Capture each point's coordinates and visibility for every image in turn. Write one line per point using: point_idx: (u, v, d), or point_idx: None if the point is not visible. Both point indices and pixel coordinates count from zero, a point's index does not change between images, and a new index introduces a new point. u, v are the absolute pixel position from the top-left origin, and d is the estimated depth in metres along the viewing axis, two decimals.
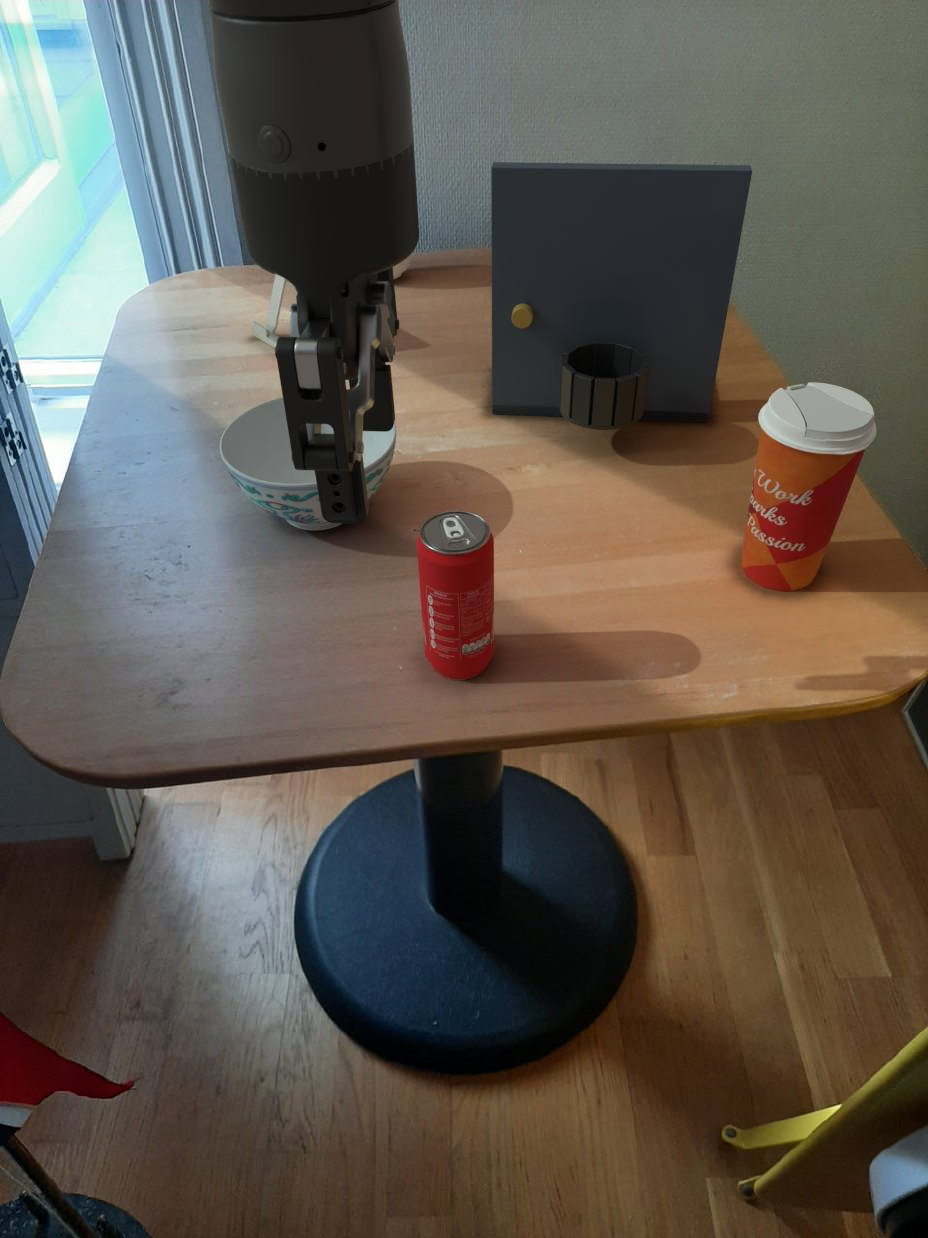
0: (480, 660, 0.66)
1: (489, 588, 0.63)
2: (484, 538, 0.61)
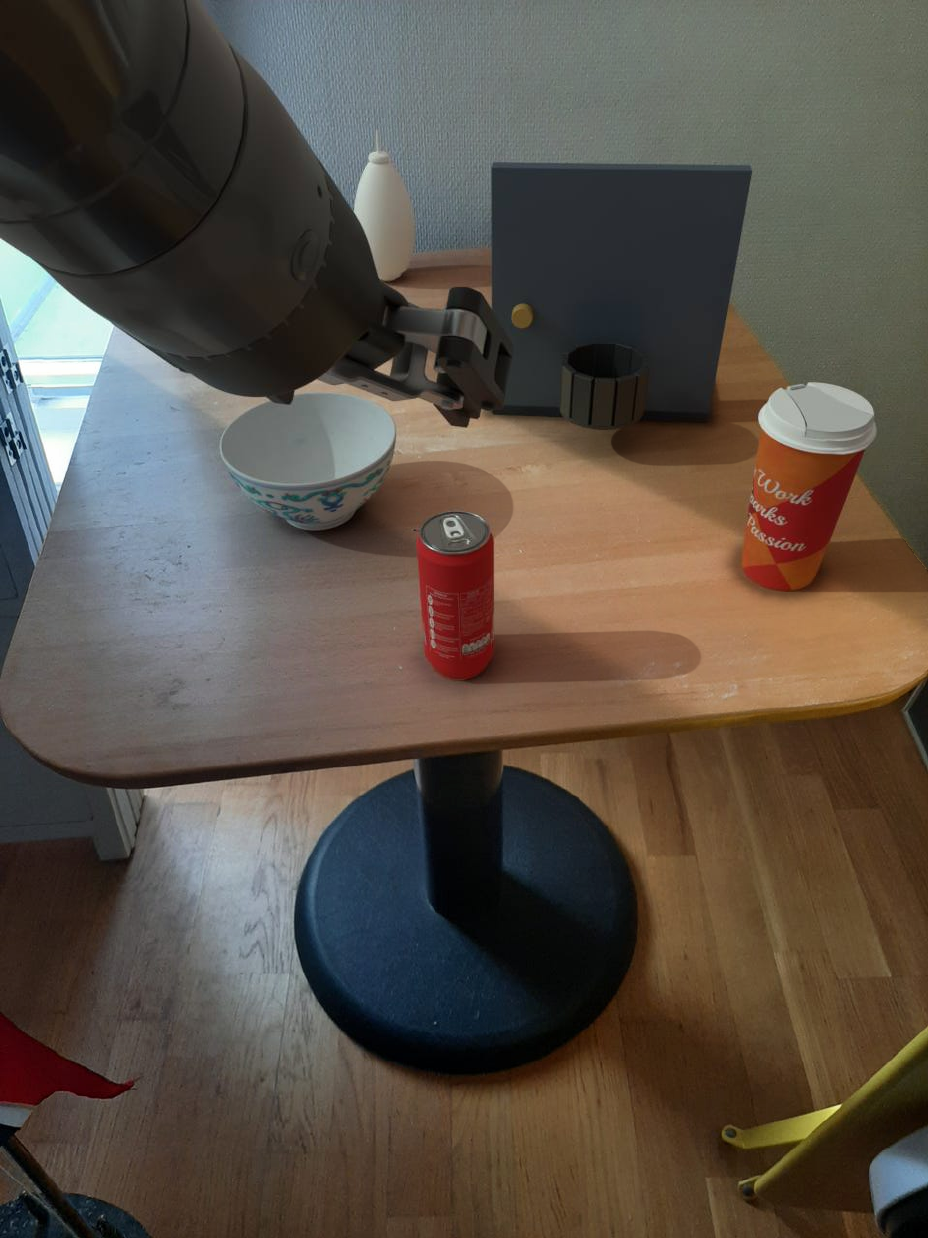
0: (480, 660, 0.66)
1: (489, 588, 0.63)
2: (484, 538, 0.61)
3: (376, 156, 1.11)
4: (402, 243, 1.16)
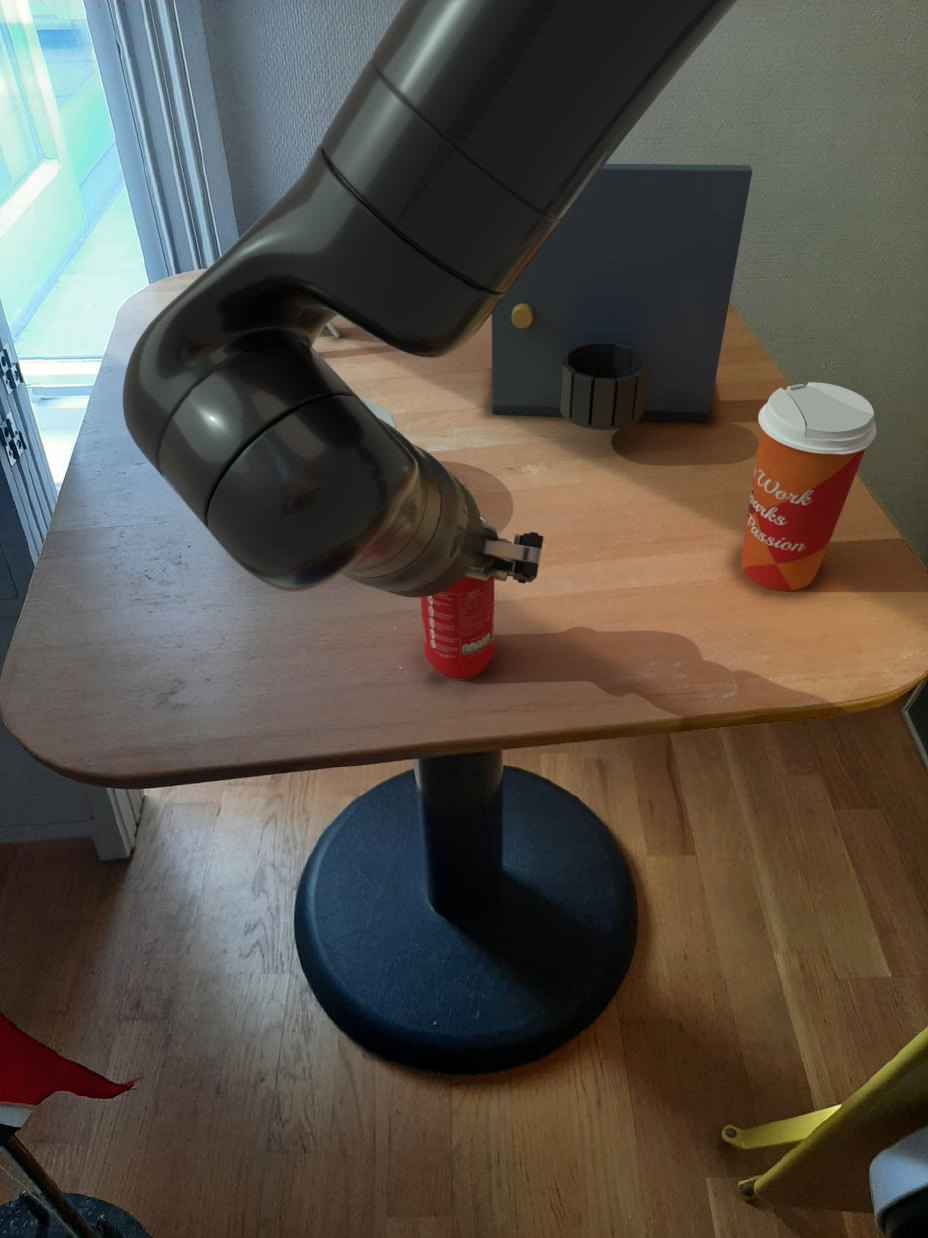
0: (480, 660, 0.66)
1: (489, 588, 0.63)
2: None
3: None
4: None
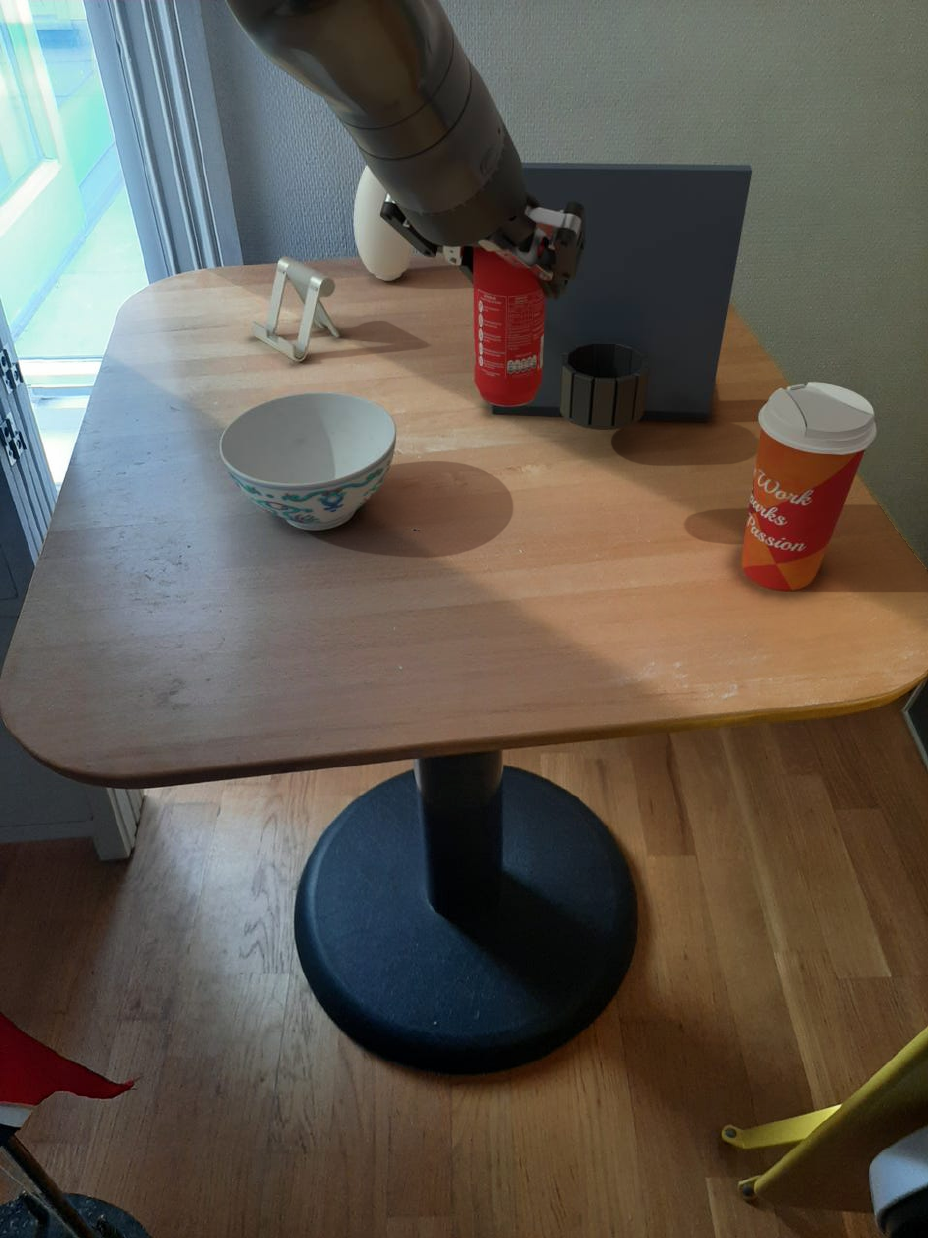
0: (525, 384, 0.69)
1: (538, 299, 0.65)
2: None
3: None
4: (402, 243, 1.16)
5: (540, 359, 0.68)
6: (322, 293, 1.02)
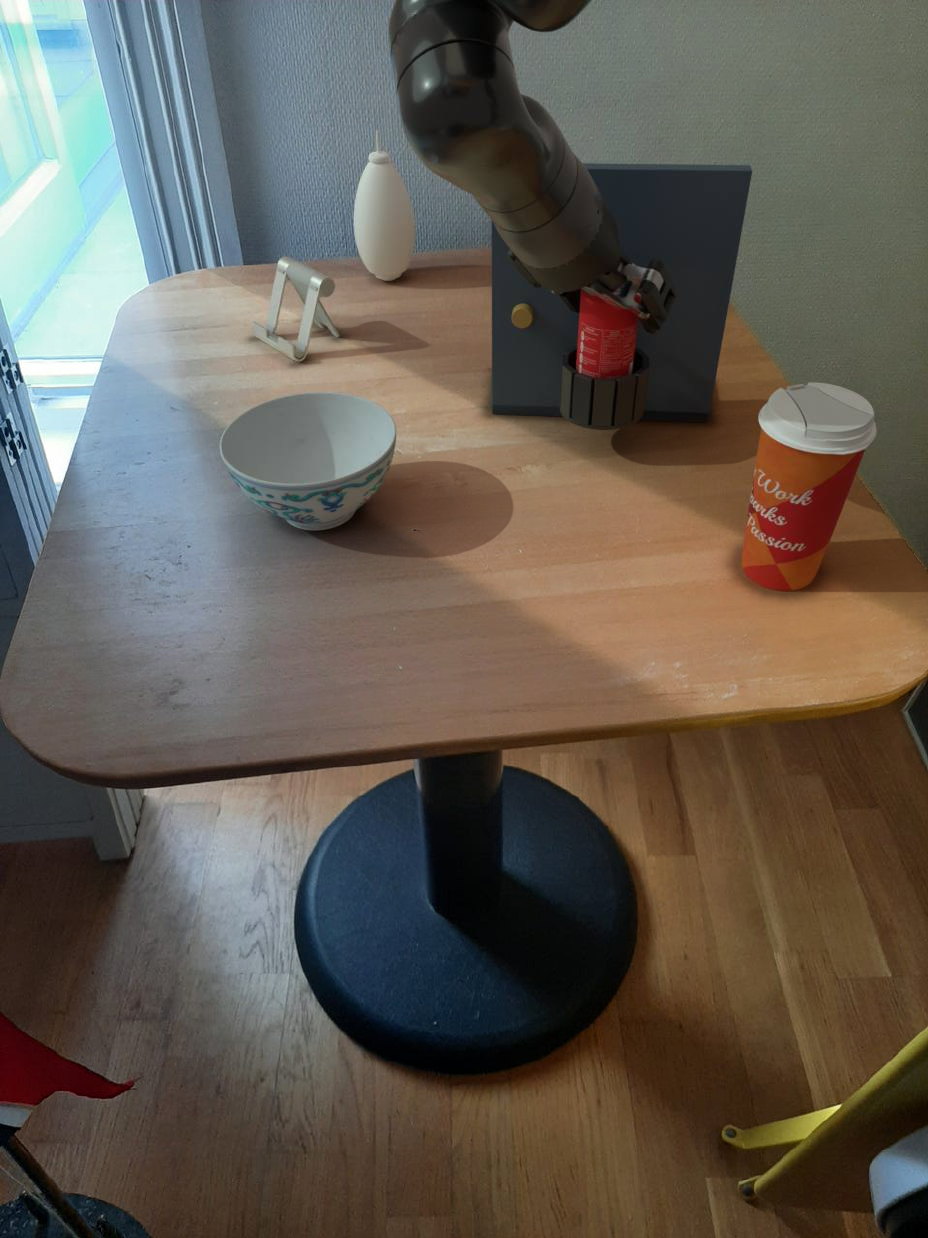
0: None
1: (629, 334, 0.81)
2: None
3: (376, 156, 1.11)
4: (402, 243, 1.16)
5: None
6: (322, 293, 1.02)
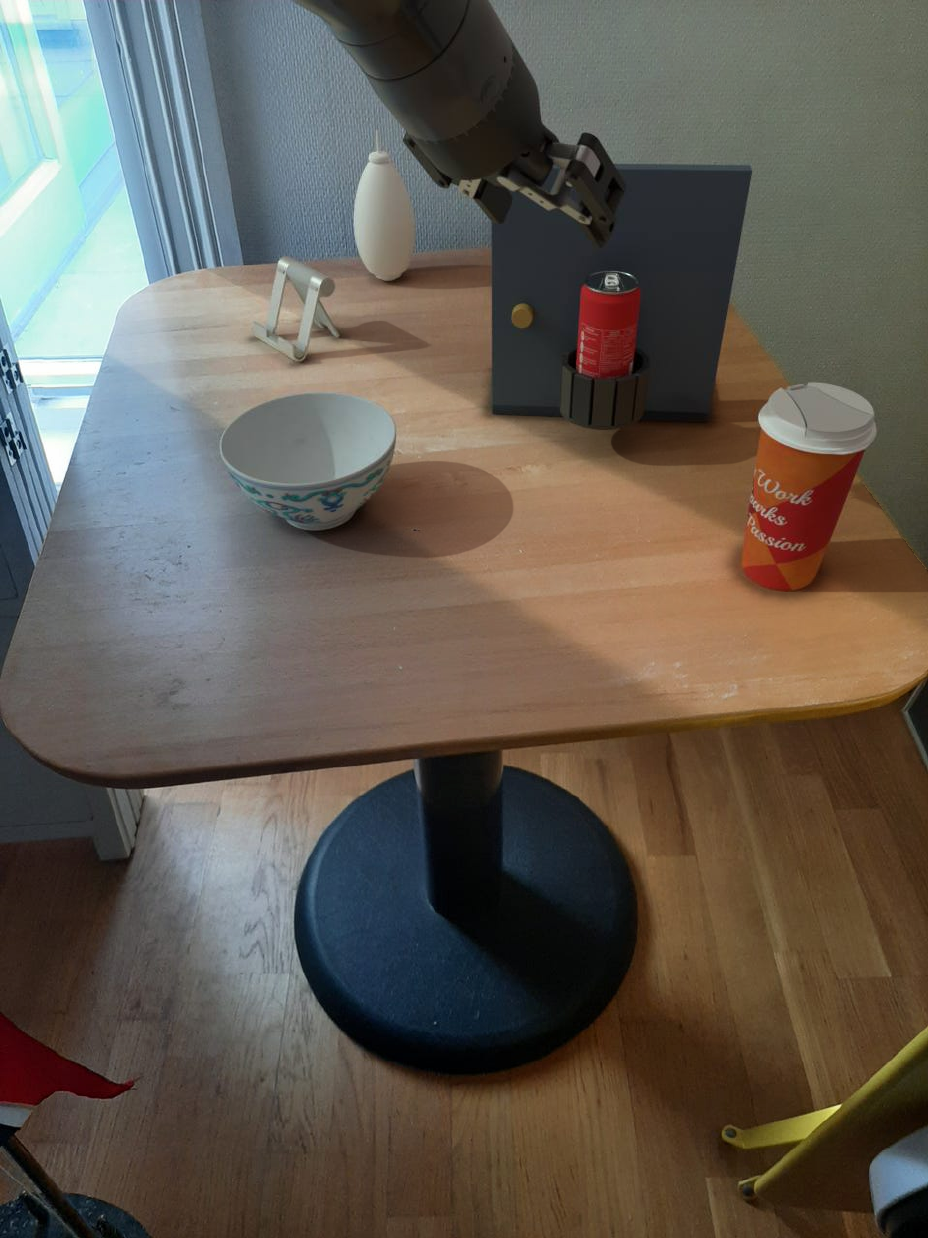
0: None
1: (629, 334, 0.81)
2: (632, 289, 0.79)
3: (376, 156, 1.11)
4: (402, 243, 1.16)
5: None
6: (322, 293, 1.02)
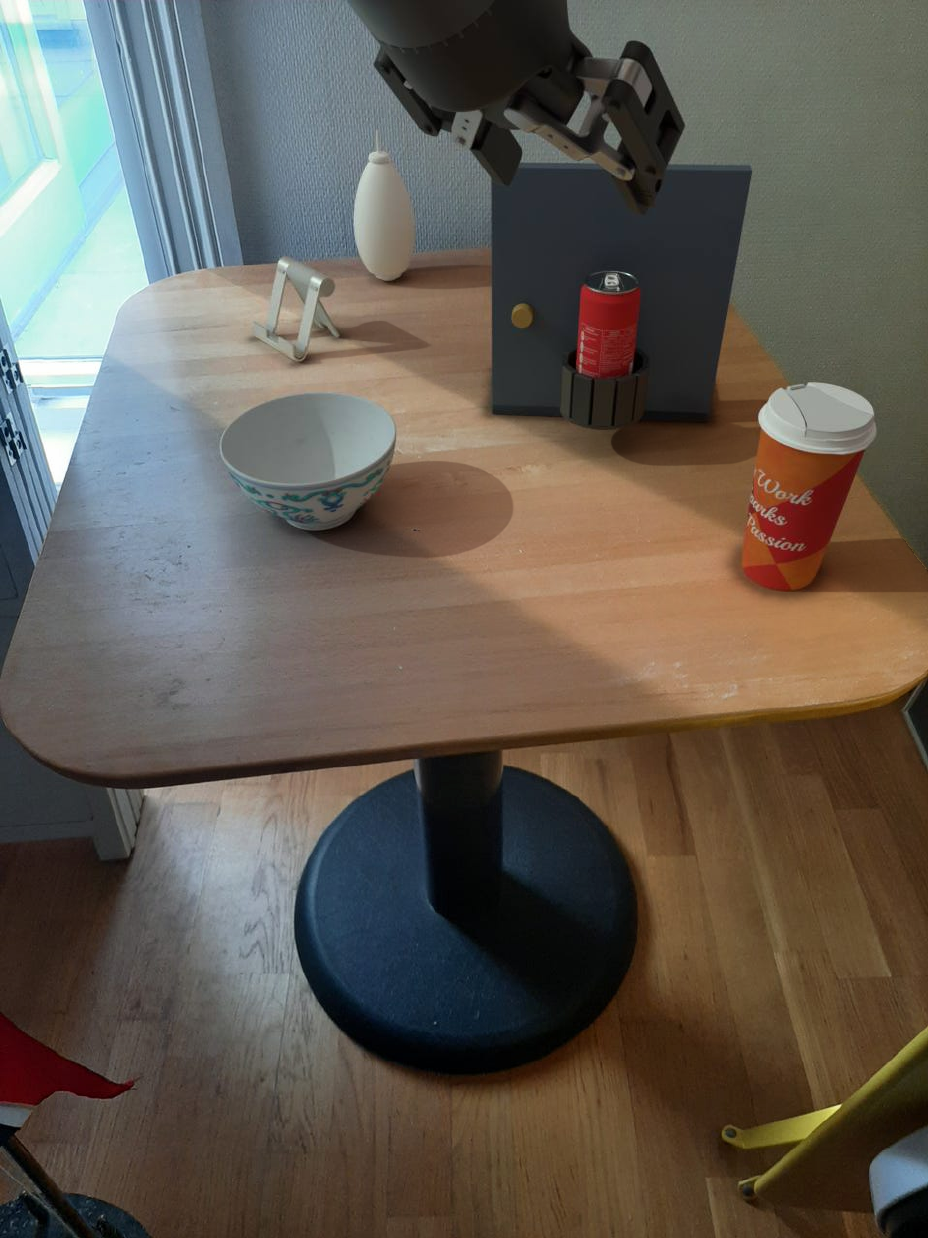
0: None
1: (629, 334, 0.81)
2: (632, 289, 0.79)
3: (376, 156, 1.11)
4: (402, 243, 1.16)
5: None
6: (322, 293, 1.02)
